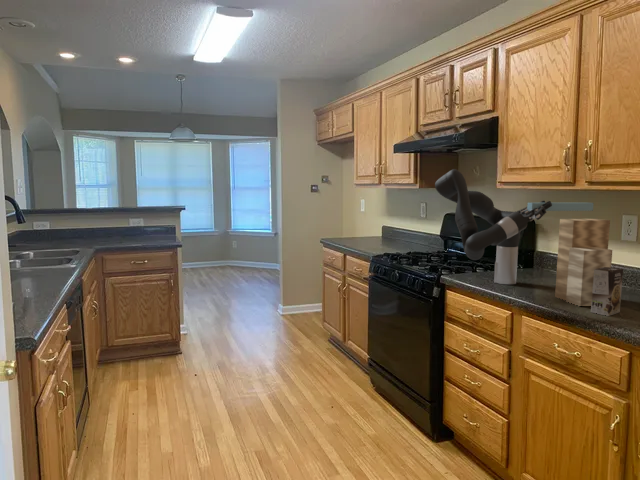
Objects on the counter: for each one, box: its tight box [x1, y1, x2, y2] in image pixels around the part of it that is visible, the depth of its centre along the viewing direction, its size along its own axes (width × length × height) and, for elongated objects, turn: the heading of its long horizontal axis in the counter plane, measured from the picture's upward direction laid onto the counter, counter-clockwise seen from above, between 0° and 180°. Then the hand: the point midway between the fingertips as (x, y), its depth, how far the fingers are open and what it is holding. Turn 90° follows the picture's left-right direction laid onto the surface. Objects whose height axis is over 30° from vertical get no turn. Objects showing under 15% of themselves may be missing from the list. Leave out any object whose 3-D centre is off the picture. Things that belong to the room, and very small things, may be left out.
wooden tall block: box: [554, 218, 611, 301], centre depth 196 cm, size 16×8×32 cm, turn 100°
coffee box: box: [590, 267, 624, 317], centre depth 176 cm, size 9×6×16 cm
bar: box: [526, 202, 594, 212], centre depth 189 cm, size 26×3×3 cm, turn 100°
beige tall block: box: [565, 247, 613, 307], centre depth 188 cm, size 12×8×22 cm, turn 100°
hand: (547, 202), depth 187 cm, fingers closed on bar, 3 cm apart
